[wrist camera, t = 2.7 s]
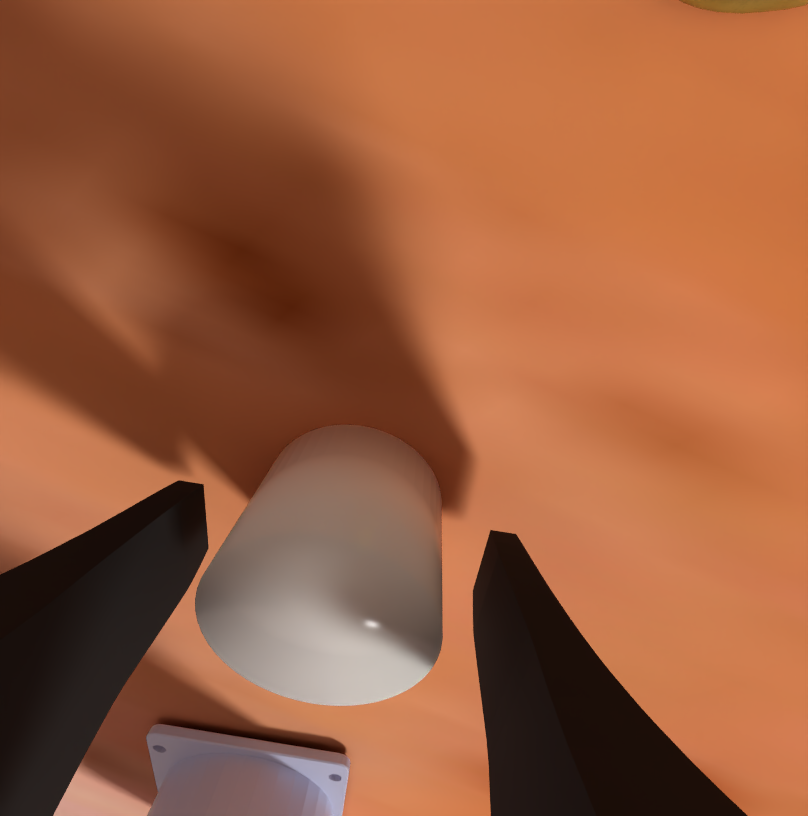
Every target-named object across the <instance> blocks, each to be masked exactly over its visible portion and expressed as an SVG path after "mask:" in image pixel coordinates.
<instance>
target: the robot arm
mask: <svg viewBox="0 0 808 816" xmlns="http://www.w3.org/2000/svg"><path fill="white" fill-rule="evenodd" d="M207 550H208V535H207V523H206V510H205V498H204V485H203V484H198V483H192V482H185V481H177V482H175V483H173V484H171V485H169V486H167V487H165V488H163V489H162V490H160V491H158V492H156V493H155V494H153V495H151V496H149V497H147V498H146V499H144V500H142V501H140V502H139V503H137V504H135V505H133V506H132V507H130V508H128V509H126V510H125V511H123V512H121V513H119V514H117V515H116V516H114V517H112V518H110V519H108V520H107V521H105V522H103V523H101V524H100V525H98V526H96V527H94V528H92V529H91V530H89V531H87V532H85V533H83V534H81V535H79V536H77V537H75V538H73V539H71V540H69V541H67V542H65V543H64V544H62V545H60V546H58V547H56V548H54V549H52V550H50V551H48V552H46V553H44V554H42V555H40V556H38V557H36V558H34V559H32V560H30V561H28V562H26V563H24V564H22V565H20V566H18V567H16V568H13V569H11V570H9V571H7V572H5V573H3V574H1V575H0V816H53V814H54V812H55V810H56V808H57V807H58V805H59V803H60V801H61V799H62V797H63V795H64V793H65V791H66V789H67V788H68V786H69V784H70V782H71V780H72V778H73V776H74V774H75V772H76V770H77V769H78V767H79V765H80V763H81V761H82V759H83V757H84V755H85V753H86V751H87V750H88V748H89V746H90V744H91V742H92V741H93V739H94V737H95V735H96V733H97V731H98V730H99V728H100V726H101V724H102V722H103V721H104V719H105V717H106V715H107V713H108V712H109V710H110V708H111V706H112V704H113V703H114V701H115V699H116V698H117V696H118V694H119V693H120V691H121V690H122V688H123V686H124V685H125V683H126V681H127V680H128V678H129V677H130V675H131V674H132V672H133V671H134V669H135V668H136V666H137V665H138V663H139V662H140V660H141V659H142V657H143V656H144V654H145V653H146V651H147V650H148V648H149V647H150V645H151V644H152V642H153V641H154V639H155V638H156V636H157V635H158V633H159V632H160V630H161V629H162V627H163V626H164V625H165V623H166V622H167V620H168V619H169V617H170V615H171V614H172V612H173V611H174V609H175V608H176V606H177V605H178V603H179V602H180V600H181V599H182V597H183V596H184V594H185V593H186V591H187V589H188V588H189V586H190V584H191V582H192V580H193V578H194V577H195V575H196V573H197V571H198V569H199V567H200V565H201V563H202V561H203V559H204V556H205V554H206V552H207ZM473 633H474V642H475V650H476V659H477V667H478V675H479V683H480V691H481V698H482V706H483V714H484V722H485V730H486V738H487V749H488V760H489V781H490V804H491V816H747V815H746V814H745V813H744V812H743V811H742V810H741V809H740V808H739V807H738V806H737V805H736V804H735V803H734V802H732V801H731V800H730V799H729V798H728V797H727V796H726V795H725V794H724V793H723V792H722V791H721V790H720V789H719V788H718V787H717V786H716V785H715V784H714V783H713V782H712V781H711V780H710V779H709V778H708V777H707V776H706V775H705V774H704V773H703V772H702V771H701V770H700V769H699V768H698V767H696V766H695V765H694V764H693V763H692V761H691V760H690V759H689V758H688V757H687V756H686V755H685V754H684V753H683V752H682V751H681V750H680V749H679V748H678V747H677V746H676V745H675V744H674V743H673V742H672V741H671V740H670V738H669V737H668V736H667V735H666V734H665V733H664V732H663V731H662V730H661V729H660V728H659V727H658V726H657V725H656V724H655V723H654V722H653V720H652V719H651V718H650V717H649V716H648V715H647V714H646V713H645V712H644V711H643V709H642V708H641V707H640V706H639V705H638V704H637V703H636V701H635V700H634V699H633V698H632V697H631V696H630V694H629V693H628V692H627V691H626V690H625V689H624V687H623V686H622V685H621V684H620V683H619V682H618V680H617V679H616V678H615V677H614V676H613V674H612V673H611V672H610V671H609V670H608V668H607V667H606V666H605V665H604V663H603V662H602V661H601V660H600V658H599V657H598V656H597V654H596V653H595V652H594V650H593V649H592V648H591V646H590V645H589V644H588V642H587V641H586V640H585V638H584V637H583V636H582V634H581V633H580V632H579V630H578V629H577V627H576V626H575V625H574V623H573V622H572V620H571V619H570V618H569V616H568V615H567V613H566V612H565V610H564V609H563V607H562V606H561V604H560V603H559V601H558V600H557V598H556V597H555V595H554V594H553V592H552V591H551V589H550V588H549V586H548V585H547V583H546V582H545V580H544V578H543V577H542V575H541V574H540V572H539V570H538V569H537V567H536V566H535V564H534V562H533V561H532V559H531V558H530V556H529V554H528V553H527V551H526V549H525V548H524V546H523V544H522V543H521V541H520V540H519V538H518V537H517V535H516V534H512V533H505V532H499V531H493V530H491V531H490V534H489V537H488V541H487V544H486V548H485V551H484V554H483V558H482V561H481V565H480V568H479V572H478V575H477V578H476V582H475V585H474V589H473ZM146 740H147V745H148V749H149V754H150V758H151V763H152V767H153V772H154V776H155V781H156V786H157V790H158V794H157V796H156V798H155V800H154V802H153V804H152V806H151V808H150V810H149V812H148V815H147V816H342V813H343V807H344V800H345V794H346V787H347V781H348V775H349V768H350V759H349V758H348V757H347V756H346V755H344V754H341V753H336V752H330V751H324V750H318V749H312V748H306V747H300V746H294V745H288V744H281V743H275V742H269V741H263V740H257V739H251V738H245V737H239V736H232V735H226V734H220V733H214V732H208V731H202V730H196V729H190V728H183V727H177V726H171V725H165V724H156V725H153V726H152V727H151V729H150V730H149V732H148V734H147V736H146Z"/></svg>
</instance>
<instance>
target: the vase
mask: <svg viewBox="0 0 808 816" xmlns="http://www.w3.org/2000/svg"><path fill="white" fill-rule="evenodd" d="M680 1H681V2H683V3H686V4H689V5H691V6H694V7H697V8H700V9H705V10H710V11H715V12H726V13H754V12H766V11H776V10H785V9H790V8H794V7H799V6H804V5H806V4H808V0H680Z"/></svg>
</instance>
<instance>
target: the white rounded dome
mask: <svg viewBox="0 0 808 816" xmlns="http://www.w3.org/2000/svg"><path fill="white" fill-rule="evenodd" d="M195 611H196V616H197V621H198V624H199V626H200V629H201V632H202V634H203V635H204V637H205V639H206V641H207V643H208V644H209V645H210V647H211V648H212V649H213V651H214V652H215V653H216V654H217V655H218V656H219V657H220V658H221V660H222V661H223V662H224V663H226V664H227V665H228V666H229V667H230V668H231V669H233V670H234V671H235V672H237V673H238V674H239V675H241V676H242V677H244V678H245V679H247V680H249V681H250V682H252V683H254V684H256V685H257V686H259V687H262V688H264V689H266V690H268V691H270V692H273V693H276V694H278V695H281V696H284V697H287V698H291V699H294V700H298V701H302V702H307V703H312V704H320V705H333V706H350V705H361V704H369V703H373V702H378V701H382V700H385V699H388V698H391V697H394V696H396V695H398V694H400V693H402V692H405V691H406V690H408V689H409V688H411V687H413V686H414V685H416V684H417V683H418V682H419V681H420V680H422V679H423V678H424V677H425V676H426V675H427V673H428V672H429V671H430V670H431V669H432V667H433V665H434V664H435V662H436V660H437V658H438V656H439V653H440V650H441V645H442V501H441V492H440V487H439V484H438V482H437V479H436V477H435V475H434V473H433V471H432V469H431V468H430V466H429V465H428V463H427V462H426V461H425V459H424V458H423V457H422V456H421V455H420V454H419V453H418V452H417V451H416V450H414V449H413V448H412V447H411V446H410V445H408V444H407V443H405V442H404V441H402V440H401V439H399V438H397V437H395V436H393V435H391V434H389V433H387V432H384V431H381V430H378V429H375V428H371V427H366V426H360V425H350V424H349V425H332V426H325V427H322V428H318V429H314V430H312V431H310V432H307V433H305V434H303V435H301V436H300V437H298V438H296V439H295V440H293V441H292V442H291V443H290V444H288V445H287V446H286V447H285V448H284V449H283V451H282V452H281V453H280V454H279V456H278V457H277V459H276V460H275V462H274V463H273V465H272V467H271V468H270V470H269V471H268V473H267V475H266V476H265V478H264V479H263V481H262V482H261V484H260V486H259V487H258V489H257V490H256V492H255V494H254V495H253V497H252V498H251V500H250V501H249V503H248V505H247V506H246V508H245V509H244V511H243V513H242V514H241V516H240V517H239V519H238V521H237V522H236V524H235V525H234V527H233V528H232V530H231V532H230V533H229V535H228V536H227V538H226V540H225V541H224V543H223V544H222V546H221V547H220V549H219V551H218V552H217V554H216V555H215V557H214V559H213V560H212V562H211V563H210V565H209V566H208V568H207V570H206V571H205V573H204V574H203V576H202V578H201V580H200V583H199V585H198V587H197V592H196V598H195Z"/></svg>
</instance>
